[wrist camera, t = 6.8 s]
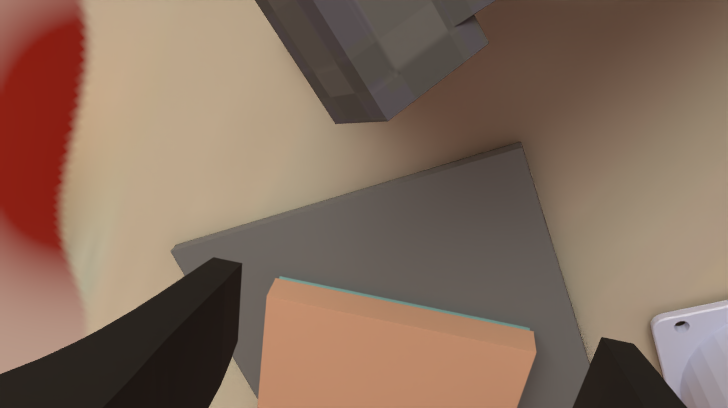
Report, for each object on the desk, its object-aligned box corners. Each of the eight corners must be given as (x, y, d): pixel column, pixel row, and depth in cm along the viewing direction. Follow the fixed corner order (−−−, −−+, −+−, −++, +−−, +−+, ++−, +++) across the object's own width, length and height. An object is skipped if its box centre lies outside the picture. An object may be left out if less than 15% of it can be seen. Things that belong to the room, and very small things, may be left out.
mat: (520, 141, 21) (522, 147, 21) (612, 437, 26) (614, 446, 26) (175, 245, 25) (170, 251, 25) (314, 482, 31) (312, 491, 30)
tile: (266, 295, 23) (254, 445, 27) (536, 352, 23) (485, 497, 26) (277, 273, 25) (264, 418, 28) (532, 326, 24) (484, 467, 28)
